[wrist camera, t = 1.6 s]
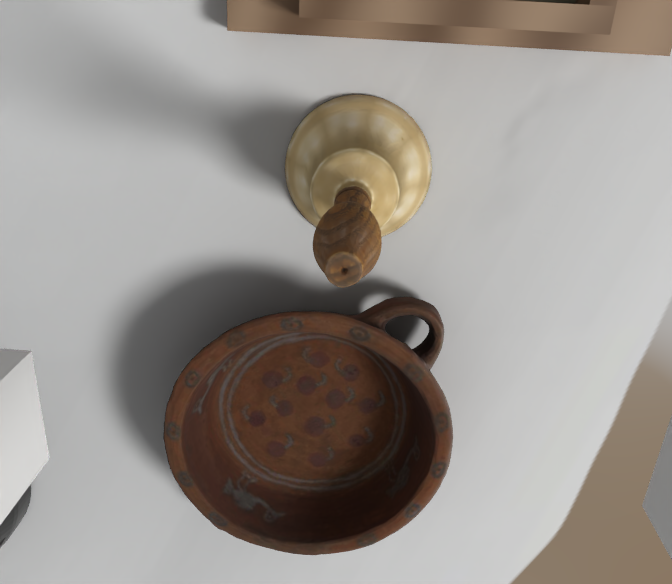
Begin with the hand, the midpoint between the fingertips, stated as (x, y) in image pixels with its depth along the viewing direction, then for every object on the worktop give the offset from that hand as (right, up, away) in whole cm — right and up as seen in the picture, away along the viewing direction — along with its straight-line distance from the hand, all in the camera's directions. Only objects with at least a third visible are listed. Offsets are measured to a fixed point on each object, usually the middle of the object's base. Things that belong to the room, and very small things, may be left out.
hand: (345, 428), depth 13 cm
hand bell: (+1, +10, +22) cm, 25 cm away
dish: (-2, -5, +29) cm, 30 cm away
